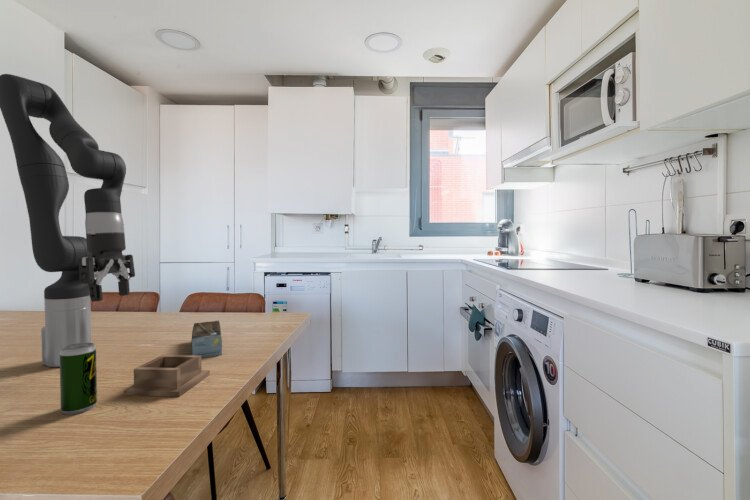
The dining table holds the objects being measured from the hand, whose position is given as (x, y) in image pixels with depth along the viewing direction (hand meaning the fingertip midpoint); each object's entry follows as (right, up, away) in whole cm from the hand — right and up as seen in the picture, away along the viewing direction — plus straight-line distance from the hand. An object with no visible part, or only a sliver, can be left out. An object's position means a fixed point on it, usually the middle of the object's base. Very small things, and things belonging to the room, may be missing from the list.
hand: (111, 298), depth 87 cm
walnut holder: (+19, -18, -8) cm, 27 cm away
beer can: (+8, -19, -19) cm, 28 cm away
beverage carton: (+14, -18, +19) cm, 30 cm away
